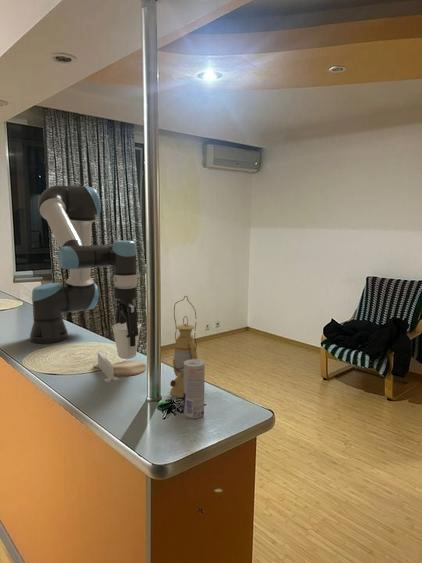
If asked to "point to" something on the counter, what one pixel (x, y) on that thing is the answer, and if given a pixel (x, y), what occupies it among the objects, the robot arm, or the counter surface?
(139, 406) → the counter surface
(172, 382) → the lantern
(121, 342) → the cup
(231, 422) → the counter surface
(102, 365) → the acrylic wall
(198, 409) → the beverage can
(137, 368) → the cork coaster
